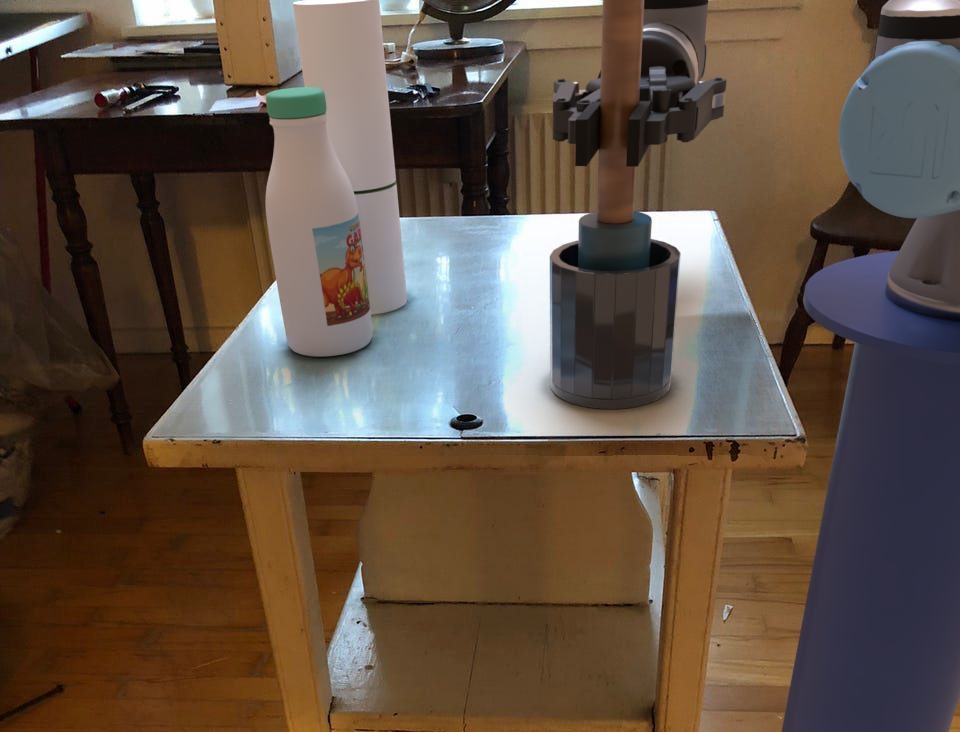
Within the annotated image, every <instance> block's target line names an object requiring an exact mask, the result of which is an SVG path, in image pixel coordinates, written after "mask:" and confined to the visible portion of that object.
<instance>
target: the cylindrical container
mask: <svg viewBox="0 0 960 732" xmlns="http://www.w3.org/2000/svg"><path fill="white" fill-rule="evenodd" d="M380 5H381V3H380V0H298V1H294V2H292V8H293V14H294V21H295V28H296V34H297V43H298V50H299V57H300V64H301V72H302V77H303V85H304V86H303V87H313V88H319V89H322V90H323V91H324V94H325V99H326V107H327V109H326V114H327V117H328V120H327V121H326V130H327V134H328V137H329V140H330V143H331V145H332V148H333V150H334V152H335V154H336V156H337V158H338V160H339V162H340V164H341V166H342V167H343V169H344V171H345V173H346V175H347V177H348V179H349V181H350V183H351V186H352V189H353V192H354V195H355V199H356V203H357V209H358V216H359V222H360V228H361V236H362V244H363V252H364V260H365V268H366V277H367V285H368V293H369V302H370V311H371V316H372V315H380V314H385V313H389V312H393V311H396V310H398V309H401V308H402V307H404V306H405V305H406V304H407V302H408V292H407V282H406V271H405V259H404V250H403V241H402V228H401V218H400V209H399V208H400V207H399V199H398V198H399V195H398V186H397V175H396V166H395V165H396V164H395V154H394V144H393V132H392V125H391V124H392V123H391V111H390V100H389V91H388V89H389V88H388V80H387V79H388V78H387V69H386V67H387V66H386V59H385V47H384V36H383V27H382V26H383V25H382V24H383V23H382V15H381V6H380Z"/></svg>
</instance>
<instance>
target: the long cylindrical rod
mask: <svg viewBox="0 0 960 732" xmlns="http://www.w3.org/2000/svg"><path fill="white" fill-rule="evenodd" d="M643 16H644V0H602V17H601V18H602V19H601V20H602V22H601V53H600V55H601V56H600V57H601V58H600V70H601V90H600V129H599V149H598V165H597V166H598V168H597V205H596V206H597V207H596V211H594V212H593V211H592V212H591V213H590V212H589V213H586V214H584V215H582V216H581V217H580V218H579V219H578V240H577V241H578V268H581V269H588V270H595V271H628V270H638V269H643V268H649V260H650V243H651V239H652V225H653V218H652V217H651V216H650V215H649V214H647V213H644V212H641V211H636V210H635V200H636V199H635V197H636V177H637V167H626V160H627V137H628V119H629V118H630V116H631V115H632V113H633V112H634V110H635V109H636V107H637V106H638V104H639V98H640V77H641V57H642V36H643Z"/></svg>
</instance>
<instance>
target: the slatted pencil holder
mask: <svg viewBox="0 0 960 732" xmlns="http://www.w3.org/2000/svg"><path fill="white" fill-rule="evenodd" d="M680 266H681V251H680V250H679V249H678V248H677V247H676V246H675V245H672V244H670V243H668V242H666V241H661V240H658V239H653V238H651V243H650V260H649V268H643V269H638V270H628V271H595V270H588V269H581V268H578V240H574V241H571V242H567V243H564V244H561V245H560V246H558V247H556V248H555V249H553V250H552V252H551V253H550V255H549V375H550V388H551V390H552V392H553V393H554V395H555V396H557V397H558V398H559V399H561V400H563V401H565V402H567V403H570V404H572V405H576V406H580V407H585V408H591V409H600V410H602V409H604V410H620V409H628V408H629V409H630V408H635V407H640V406H644V405H648V404H651V403H653V402H657V401H658V400H660V399H661V398H663V397H664V396H665V395H666V394H667V393H668V392H669V390H670V388H671V381H672V374H673V364H674V362H673V361H674V349H675V336H676V321H677V320H676V319H677V309H678V296H679V282H680V268H681V267H680Z"/></svg>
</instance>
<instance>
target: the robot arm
mask: <svg viewBox="0 0 960 732" xmlns="http://www.w3.org/2000/svg"><path fill="white" fill-rule="evenodd" d="M708 9H709V0H644V16H643V36H642V57H641V77H640V98H639V104H638V106H637V107H636V109H635V110H634V112H633V113H632V115H631V116H630V118H629V119H628V137H627V160H626V167H636V168H637V167H638V168H639V165H640V163H641V162H642V160H643V158H644V156H645V154H646V152H647V150H648V148H649V147H650V146H660V145H662V144H664V143H666V142H668V136H669V135H676V141H680V142H681V143H689V142H691V141H694V140H695V139H696V138H697V137H698V136H699V135H700V134H701V133H702V131H703V130H704V129H705V128H706V127H707V126H708V125H709V124H710V122H711V121H715V120H719V119H720V118H723V117H724V111H725V102H726V91H727V79H726V78H723V77H721V76H720V77H719V76H717V77H715V78H712V79H708V80H702V79H703V77H704V75H705V70H706V65H707V53H708V52H707V49H708V48H707V44H706V33H707V32H706V31H707V22H708V21H707V20H708ZM600 90H601V69H599V73H598V75H597V78H595V79H591V80H589V81H588V82H587V83H586V85H585V89H580V82H579V81H570V80H568V79H565V78H558V79H557V80H553V99H552V140H554V141H555V142H565V141H567V143H568V144H569V145H575V148H574V149H575V150H574V153H575V154H574V156H575V157H574V166H575V167H587V166H588V165H589V164H590V162H591V161H592V160H593V158H594V157H595V155H596V154H597V152H599V129H600ZM838 146H839V147H838V148H839V154H840V158H841V162H842V166H843V169H844V171H845V173H846V176H847V177H848V179H849V181H850V183H851V184H852V185H853V186H854V187H855V188H856V189H857V191H858V192H859V194H860V195H861V196H862V198H863V199H864V200H865V201H866V202H868V204H870V205H872V206H873V207H875V208H876V209H878V210H880V212H881V211H882V212H884V213H886V214H888V215H892V216H895V217H899V218H904V219H916V220H915V221H914V223H913V225H912V227H911V229H910V231H909V232H908V234H907V236H906V237H905V240H904V241H903V244H902V245H901V247H900V249H899V250H898V251H899V253H898V254H897V256H896V258H895V260H894V262H893V264H892V266H891V269H890V271H889V274H888V279H887V284H886V289H885V293H886V295H887V297H888V298H889V299H890V300H891V301H893V302H894V303H895V304H897V305H899V306H901V307H903V308H905V309H907V310H909V311H912V312H915V313H918V314H921V315H925V316H929V317H933V318H938V319H943V320H949V321H956V322H960V0H888V1H887V2H885V4H884V5H883V6H882V7H881V11H880V16H879V24H878V31H877V38H876V45H875V53H874V59H873V60H872V61H871V62H870V63H869V64H868V66H867V67H866V68H865V70H864V71H863V72H862V74H861V75H860V76H859V78H857V80H856V81H855V82H854V83H853V85H852V86H851V88H850V90H849V92H848V94H847V96H846V99H845V101H844V104H843V107H842V111H841V114H840V118H839V127H838Z"/></svg>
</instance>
